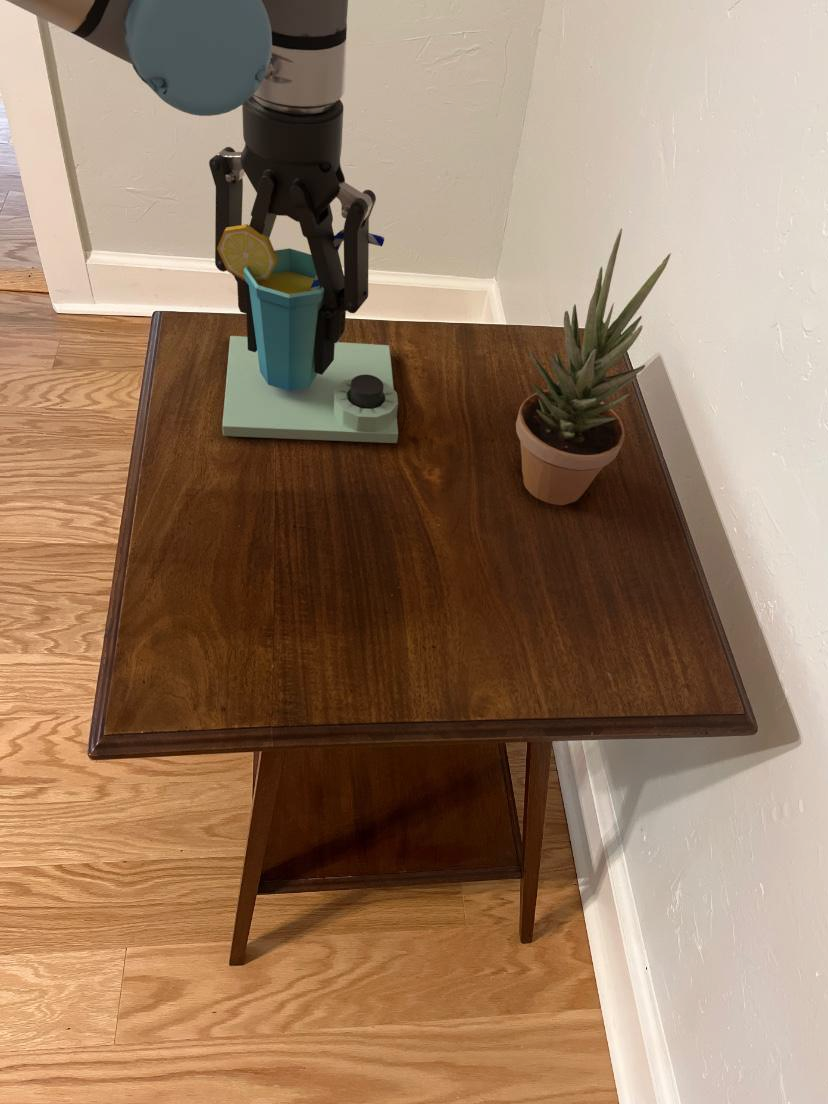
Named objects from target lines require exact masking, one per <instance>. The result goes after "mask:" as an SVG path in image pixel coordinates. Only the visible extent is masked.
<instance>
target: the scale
mask: <svg viewBox="0 0 828 1104" xmlns="http://www.w3.org/2000/svg"><path fill="white" fill-rule="evenodd" d="M228 344H229V346H228V357H227V369H226V379H225V392H224V404H223V414H222V415H223V416H222V423H221V424H222V436H223V437H239V438H260V439H261V438H263V439H284V440H285V439H286V440H287V439H288V440H311V441H333V442H334V441H335V442H355V443H357V442H358V443H359V442H360V443H379V444H383V443H384V444H397V443H398V439H399V427H398V417H397V416H398V409H399V398H398V393H397V391H396V390H395V388H394V387H395V386H394V377H393V376H394V375H393V367H392V366H393V365H392V357H391V347H390V345H389V344H373V343H361V342H360V343H358V342H340V341H338V342H337V343H335V348H334V360H333V361H332V363H331V364H330V365H329V367H328V368H327V369H326V370H325V372H324V373H323V374H322V375H321V374H318V373H317V376H316V377H315V379H314V380H313V382H312V383H311V384H310V386H309V387H305V388H300V389H296V390H291V391H287V390H284V389H280V388H277V387H274V386H271V385H268V384H267V382H266V381H265V379H264V377H263V376H262V374H261V373H260V367H259V360H258V352H257V351H256V352H252V351H249V350H248V342H247V336H243V335H230V336H229V343H228ZM359 375H372V376H375V377H377V378H379V379H380V380H381V381H382V383H383V396H382V403H381V404H380V406H378V407H377V408H374V409H363V408H360V407H357V406H355V405H353V404H352V402H351V400H350V390H351V381H352V379H353V378H354V377H356V376H359Z"/></svg>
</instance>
